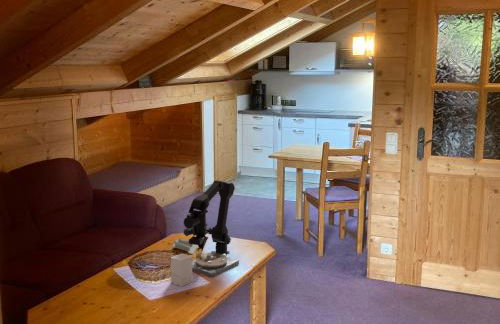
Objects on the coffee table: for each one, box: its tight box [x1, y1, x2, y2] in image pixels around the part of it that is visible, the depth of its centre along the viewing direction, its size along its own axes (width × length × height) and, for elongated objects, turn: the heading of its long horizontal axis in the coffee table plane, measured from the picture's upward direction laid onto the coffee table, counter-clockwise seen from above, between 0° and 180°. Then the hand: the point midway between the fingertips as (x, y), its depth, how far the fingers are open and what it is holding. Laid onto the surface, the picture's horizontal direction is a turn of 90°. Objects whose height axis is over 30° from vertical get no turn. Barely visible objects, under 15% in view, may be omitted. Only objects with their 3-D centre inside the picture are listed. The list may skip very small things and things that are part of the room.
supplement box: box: [170, 253, 193, 287], centre depth 251 cm, size 7×7×13 cm
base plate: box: [192, 256, 240, 278], centre depth 273 cm, size 22×19×2 cm
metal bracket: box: [171, 237, 198, 255], centre depth 297 cm, size 14×6×15 cm
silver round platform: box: [195, 247, 228, 268], centre depth 272 cm, size 16×16×7 cm
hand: (201, 251), depth 275 cm, fingers closed
